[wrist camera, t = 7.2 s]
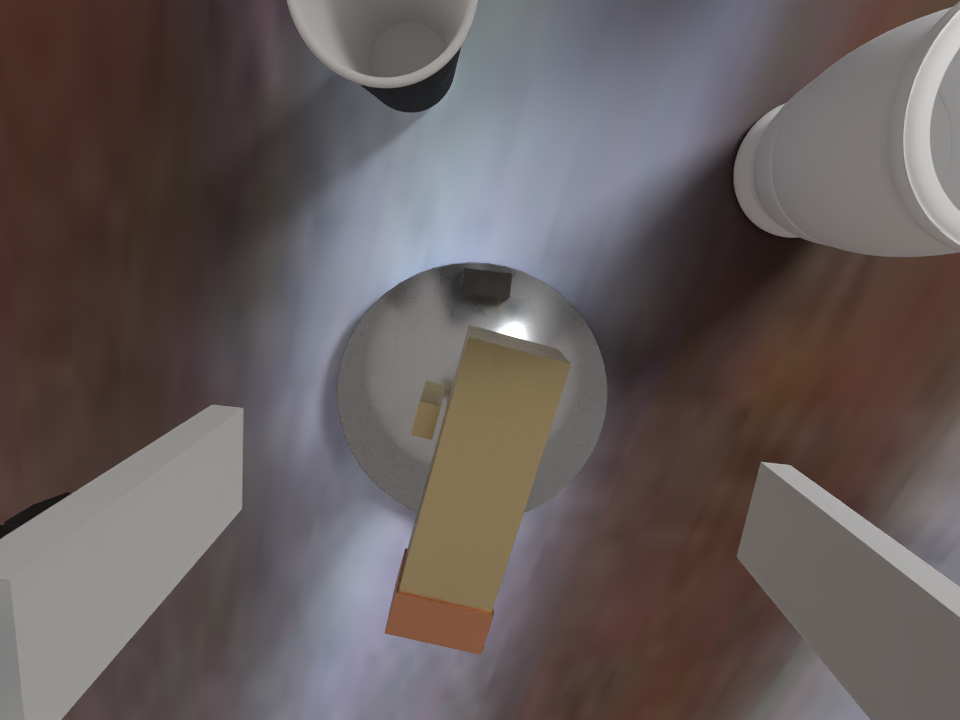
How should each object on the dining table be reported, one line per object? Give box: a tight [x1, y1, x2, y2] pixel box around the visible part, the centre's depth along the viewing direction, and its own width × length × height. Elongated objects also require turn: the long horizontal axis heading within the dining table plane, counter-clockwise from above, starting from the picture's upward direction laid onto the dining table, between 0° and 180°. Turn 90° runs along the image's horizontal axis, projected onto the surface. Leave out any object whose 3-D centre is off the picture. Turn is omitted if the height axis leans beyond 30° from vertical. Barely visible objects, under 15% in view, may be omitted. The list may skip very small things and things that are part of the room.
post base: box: [337, 262, 607, 512], centre depth 32 cm, size 18×18×8 cm
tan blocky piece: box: [385, 325, 571, 655], centre depth 27 cm, size 7×13×13 cm, turn 164°
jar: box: [734, 2, 960, 257], centre depth 26 cm, size 11×10×15 cm
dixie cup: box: [287, 0, 478, 112], centre depth 26 cm, size 8×8×11 cm
